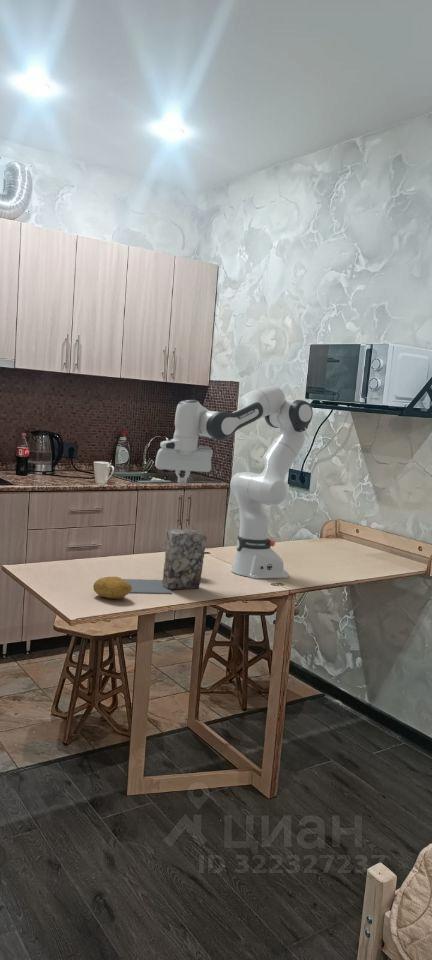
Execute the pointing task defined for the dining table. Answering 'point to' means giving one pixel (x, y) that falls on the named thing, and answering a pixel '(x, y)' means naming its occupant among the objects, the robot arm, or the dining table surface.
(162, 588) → the mat
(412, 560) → the dining table surface
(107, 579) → the potato
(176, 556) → the stone block
